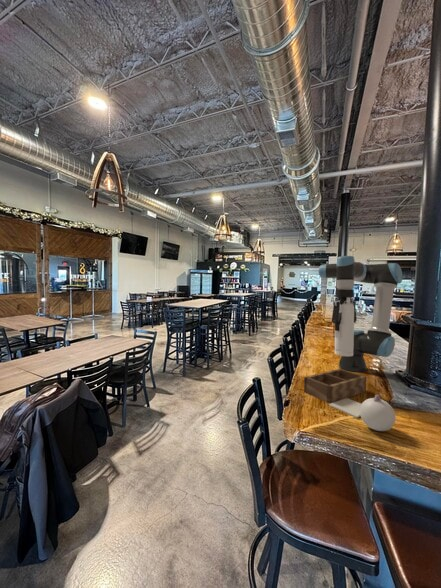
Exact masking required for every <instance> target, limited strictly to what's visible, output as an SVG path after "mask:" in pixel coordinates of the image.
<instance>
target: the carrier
mask: <svg viewBox="0 0 441 588" xmlns="http://www.w3.org/2000/svg"><path fill="white" fill-rule="evenodd" d="M303 379H304V381H303V392H304V393H305V394H308V395H310V396H312V397H315V398H316V399H318V400H321V401H323V402H326V403H328V404H331V403H334V402H337V401H340V400H343V399H346V398H348V399H349V398H351V397H353V396H357V395H360V394H362V393H365V392H367V376H366V375H362V374H359V373H357V372H353V371H347V370H344V369H341V368H337V369H333V370H328V371H324V372H321V373H316V374H312V375H311V374H310V375H308V376H304V377H303Z"/></svg>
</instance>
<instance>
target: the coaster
mask: <svg viewBox="0 0 441 588" xmlns="http://www.w3.org/2000/svg"><path fill="white" fill-rule="evenodd" d="M361 405H362V403H361V402H358V401H356V400H353V399H350V398H349V397H348V398H345V399H342V400H339V401H336V402H333V403H328V406H329V407H331V408H332V409H333V408H334V409H336V410H339V411H341V412H342V413H345V414H347V415H349V416H351V417H353V418H355V419H357V418H360V417H361V415H360V407H361Z"/></svg>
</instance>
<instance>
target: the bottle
mask: <svg viewBox="0 0 441 588" xmlns="http://www.w3.org/2000/svg"><path fill="white" fill-rule="evenodd" d="M345 302H347V303H346V304H345ZM345 302H344V303H343V304H342V305H341V304H340V309H339V313H341V312H342V319H341V322H340V324H342V326H341V338H336V337H335V336H334V354H335V355H336V356H353V349H354V330H355V329H354V328H355V323H354V305H353V304H351V303H350V298H347V300H346V301H345Z"/></svg>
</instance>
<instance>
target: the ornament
mask: <svg viewBox="0 0 441 588" xmlns="http://www.w3.org/2000/svg"><path fill="white" fill-rule="evenodd" d="M361 404H362V405H361V407H360V415H361V416H360V417H361V420H362V422H363V424H364V425H366V426H367V427H368V428H369V429H371V430H373V431H378V432H387V431H389V430H392V428H393V426H394V425H395V423H396V413H395V410H394V409H393V407H392V406H391V405H390V403H388V402H387V401H386V400H383V399H382V398H381V397H380V395H379V394H375V395H374V397H370V398H367V399H365V400H364V401H362V403H361Z"/></svg>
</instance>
